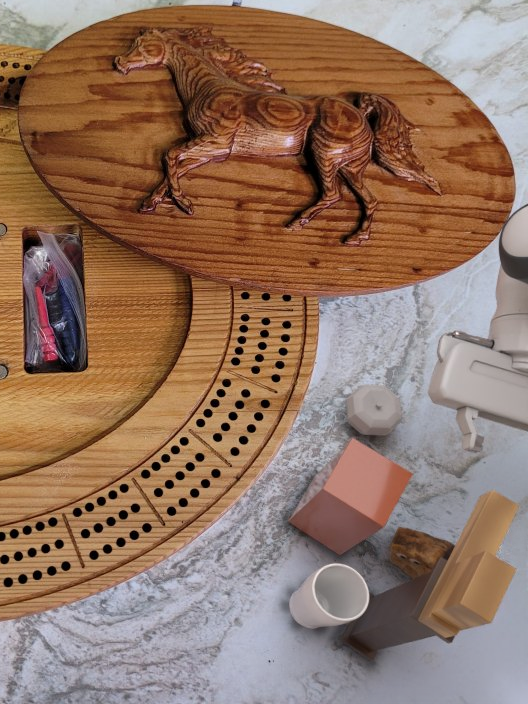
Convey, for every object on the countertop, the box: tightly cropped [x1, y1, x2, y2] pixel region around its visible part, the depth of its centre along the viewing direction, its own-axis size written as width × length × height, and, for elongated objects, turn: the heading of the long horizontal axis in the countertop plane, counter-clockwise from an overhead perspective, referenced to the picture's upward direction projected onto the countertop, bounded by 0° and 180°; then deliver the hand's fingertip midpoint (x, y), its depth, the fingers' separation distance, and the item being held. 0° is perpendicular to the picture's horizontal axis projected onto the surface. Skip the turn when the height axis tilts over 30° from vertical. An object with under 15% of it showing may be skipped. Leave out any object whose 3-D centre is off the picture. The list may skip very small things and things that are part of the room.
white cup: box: [288, 563, 370, 630], centre depth 104 cm, size 7×7×15 cm
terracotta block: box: [287, 437, 414, 556], centre depth 108 cm, size 8×8×18 cm
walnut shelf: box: [338, 557, 456, 662], centre depth 98 cm, size 4×8×26 cm, turn 144°
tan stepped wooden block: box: [418, 489, 520, 638], centre depth 83 cm, size 3×16×10 cm, turn 144°
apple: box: [345, 384, 403, 436], centre depth 119 cm, size 8×8×7 cm
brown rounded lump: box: [389, 526, 456, 579], centre depth 108 cm, size 12×6×11 cm, turn 54°
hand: (512, 463), depth 94 cm, fingers open, 8 cm apart
